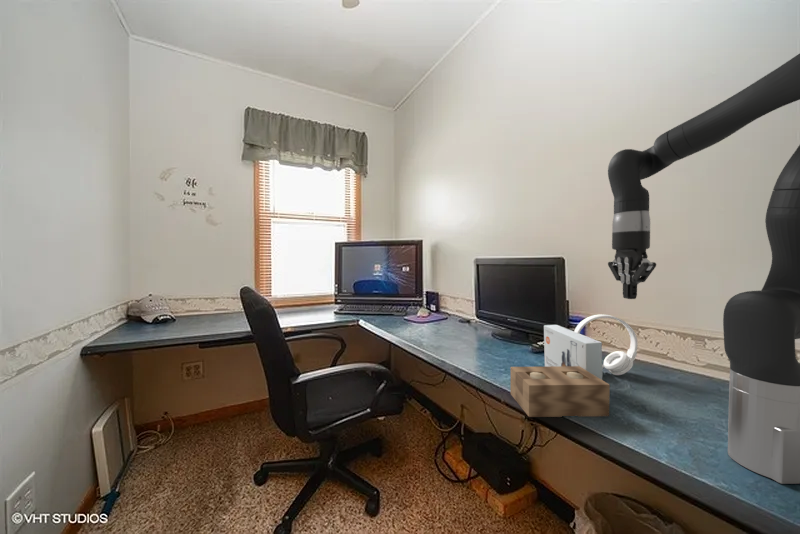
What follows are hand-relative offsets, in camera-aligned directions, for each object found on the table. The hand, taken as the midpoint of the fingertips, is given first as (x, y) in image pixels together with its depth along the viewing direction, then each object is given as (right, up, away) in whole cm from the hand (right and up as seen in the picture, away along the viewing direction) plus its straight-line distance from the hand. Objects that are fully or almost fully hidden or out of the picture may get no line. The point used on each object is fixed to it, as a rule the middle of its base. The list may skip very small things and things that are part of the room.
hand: (629, 298), depth 73 cm
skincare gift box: (-5, -29, +18) cm, 34 cm away
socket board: (-17, -29, +4) cm, 34 cm away
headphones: (+10, -28, +24) cm, 38 cm away
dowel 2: (-12, -29, +4) cm, 32 cm away
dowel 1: (-22, -29, +4) cm, 37 cm away
